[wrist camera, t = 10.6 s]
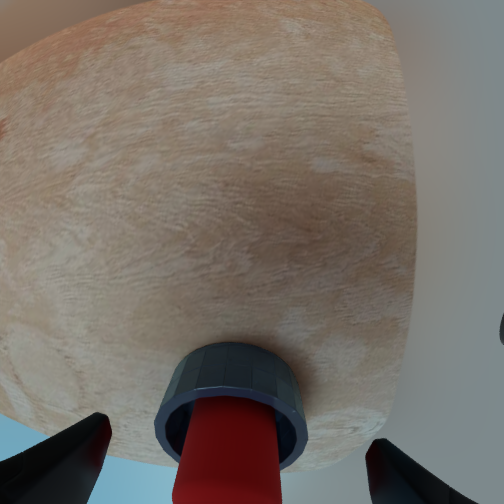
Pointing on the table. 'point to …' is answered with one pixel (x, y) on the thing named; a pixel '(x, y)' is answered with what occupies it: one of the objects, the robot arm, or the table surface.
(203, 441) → the beverage can
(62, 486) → the robot arm
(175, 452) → the pot
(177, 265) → the table surface
